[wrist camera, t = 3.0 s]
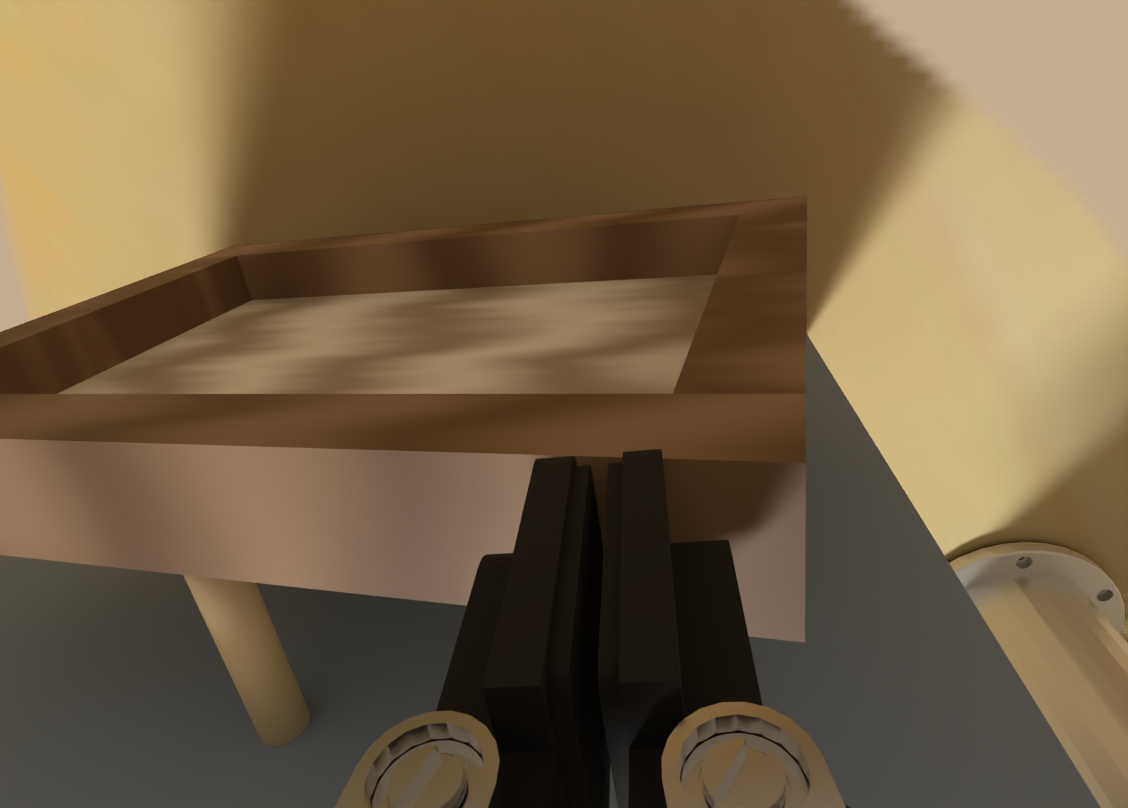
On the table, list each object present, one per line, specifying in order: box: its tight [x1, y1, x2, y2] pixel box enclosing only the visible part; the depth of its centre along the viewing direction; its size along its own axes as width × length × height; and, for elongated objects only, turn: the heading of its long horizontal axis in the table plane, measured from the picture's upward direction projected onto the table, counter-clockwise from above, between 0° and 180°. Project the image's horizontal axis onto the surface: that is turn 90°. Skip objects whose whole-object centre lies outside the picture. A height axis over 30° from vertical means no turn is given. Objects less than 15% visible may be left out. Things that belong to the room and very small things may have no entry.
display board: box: [0, 334, 1101, 808], centre depth 25 cm, size 34×7×30 cm, turn 98°
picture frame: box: [0, 196, 807, 642], centre depth 21 cm, size 24×3×17 cm, turn 98°
